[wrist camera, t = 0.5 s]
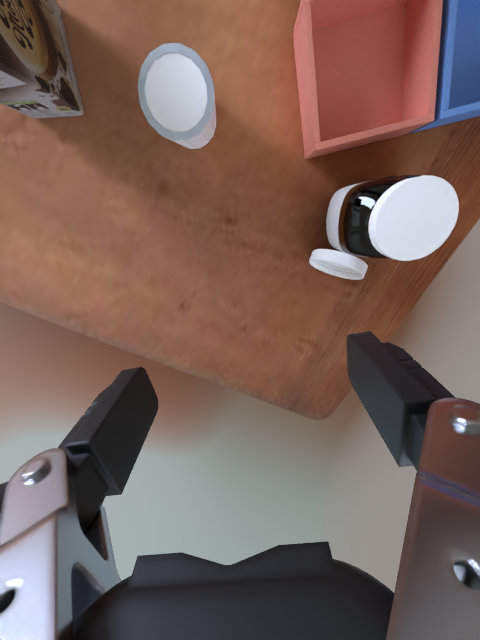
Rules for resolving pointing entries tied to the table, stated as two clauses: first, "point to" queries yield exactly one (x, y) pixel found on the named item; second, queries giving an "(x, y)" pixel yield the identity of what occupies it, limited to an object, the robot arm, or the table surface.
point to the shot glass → (178, 95)
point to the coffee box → (36, 60)
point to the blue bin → (458, 64)
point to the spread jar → (386, 222)
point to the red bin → (365, 70)
